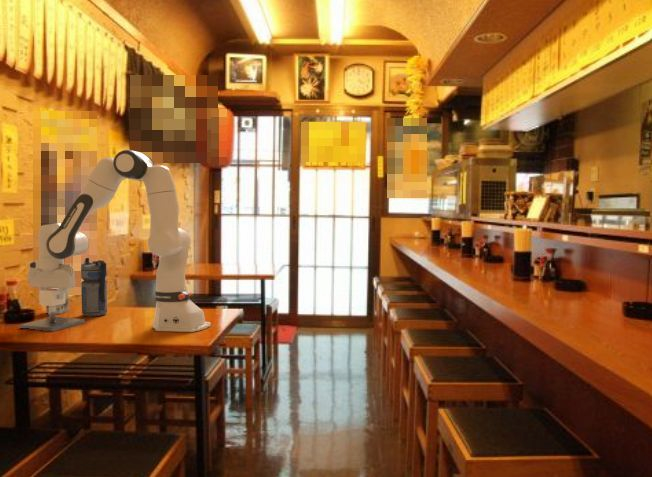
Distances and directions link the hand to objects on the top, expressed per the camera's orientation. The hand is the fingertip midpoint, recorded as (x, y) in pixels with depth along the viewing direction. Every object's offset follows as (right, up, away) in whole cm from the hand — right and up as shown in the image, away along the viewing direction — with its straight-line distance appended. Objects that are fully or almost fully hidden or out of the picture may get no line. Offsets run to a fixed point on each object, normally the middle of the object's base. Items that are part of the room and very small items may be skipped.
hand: (52, 298), depth 196 cm
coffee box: (-13, -10, +27) cm, 32 cm away
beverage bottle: (+7, -10, +21) cm, 25 cm away
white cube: (0, -2, 0) cm, 2 cm away
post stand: (0, -11, +1) cm, 11 cm away
